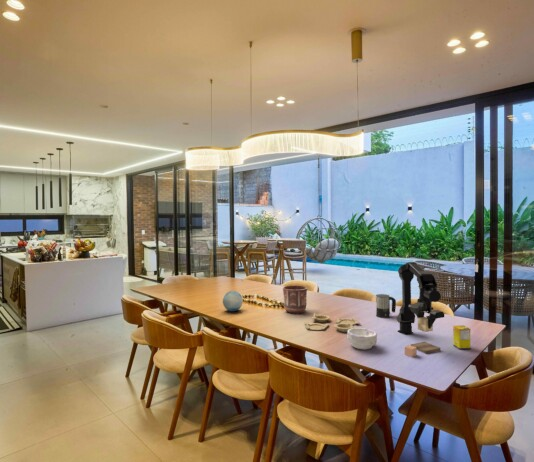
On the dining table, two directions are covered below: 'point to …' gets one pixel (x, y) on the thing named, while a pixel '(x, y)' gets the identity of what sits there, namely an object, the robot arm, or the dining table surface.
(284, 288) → the pottery
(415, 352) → the terracotta cube
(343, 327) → the tableware set
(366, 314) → the dining table surface
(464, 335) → the supplement box
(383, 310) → the milk frother
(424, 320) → the oak block
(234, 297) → the decorative ball
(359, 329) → the paper bowls
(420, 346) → the walnut block
